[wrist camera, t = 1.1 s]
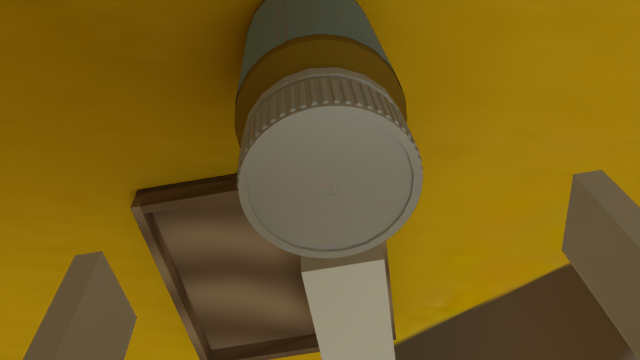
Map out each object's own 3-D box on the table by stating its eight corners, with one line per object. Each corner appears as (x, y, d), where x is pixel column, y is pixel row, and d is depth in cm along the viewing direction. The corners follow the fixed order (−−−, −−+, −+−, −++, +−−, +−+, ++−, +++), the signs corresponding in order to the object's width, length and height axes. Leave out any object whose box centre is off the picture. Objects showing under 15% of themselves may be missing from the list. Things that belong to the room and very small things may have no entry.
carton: (298, 211, 35) (301, 272, 30) (369, 200, 35) (384, 259, 30) (319, 308, 40) (325, 373, 36) (381, 298, 40) (395, 362, 35)
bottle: (223, 17, 28) (178, 156, 15) (335, -48, 26) (386, 48, 14) (286, 116, 31) (290, 293, 19) (388, 64, 30) (465, 218, 18)
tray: (137, 190, 34) (130, 207, 32) (373, 151, 33) (378, 167, 32) (207, 349, 43) (204, 369, 42) (391, 320, 43) (395, 339, 41)
